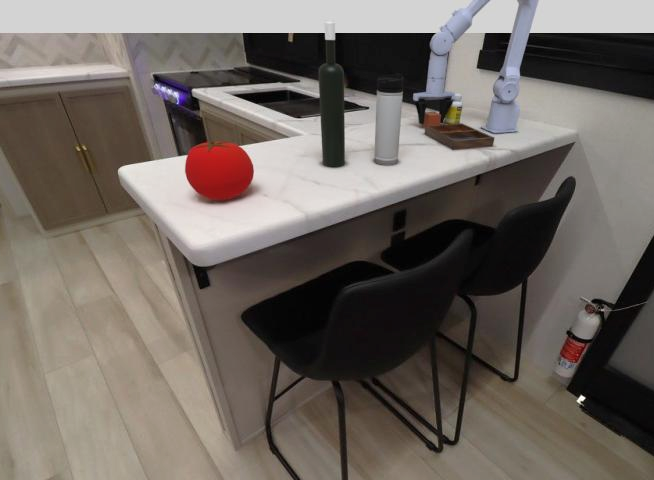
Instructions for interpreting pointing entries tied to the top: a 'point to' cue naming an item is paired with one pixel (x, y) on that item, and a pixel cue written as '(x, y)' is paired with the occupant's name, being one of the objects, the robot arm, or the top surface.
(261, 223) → the top surface
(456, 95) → the supplement bottle
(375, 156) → the travel mug
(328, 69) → the wine bottle
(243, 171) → the tomato
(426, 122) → the terracotta block
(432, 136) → the sorting tray
